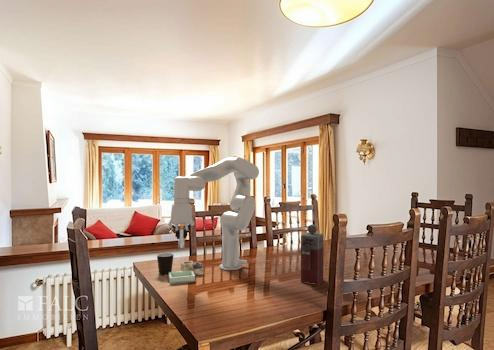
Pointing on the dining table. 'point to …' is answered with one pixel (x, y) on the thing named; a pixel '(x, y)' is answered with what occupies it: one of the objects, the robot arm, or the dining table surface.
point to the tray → (181, 277)
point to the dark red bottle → (312, 256)
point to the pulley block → (192, 267)
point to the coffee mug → (165, 263)
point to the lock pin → (181, 236)
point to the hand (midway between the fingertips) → (181, 238)
